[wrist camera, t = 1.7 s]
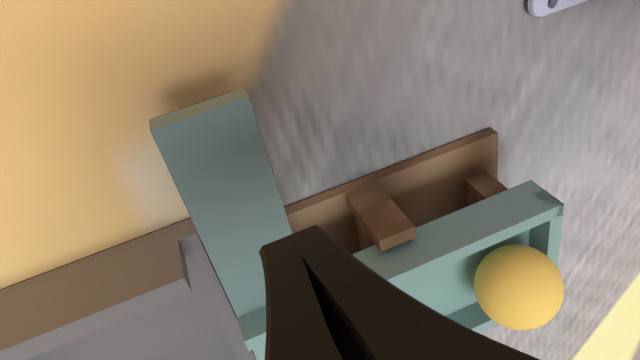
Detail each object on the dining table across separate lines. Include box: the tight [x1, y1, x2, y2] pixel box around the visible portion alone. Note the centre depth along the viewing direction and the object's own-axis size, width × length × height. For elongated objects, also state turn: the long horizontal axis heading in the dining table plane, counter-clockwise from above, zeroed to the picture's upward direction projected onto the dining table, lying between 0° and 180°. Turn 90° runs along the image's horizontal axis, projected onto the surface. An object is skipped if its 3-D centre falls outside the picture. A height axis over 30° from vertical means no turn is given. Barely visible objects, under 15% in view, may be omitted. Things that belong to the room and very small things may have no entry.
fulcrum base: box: [284, 128, 508, 254], centre depth 24 cm, size 15×8×4 cm, turn 102°
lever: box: [149, 88, 564, 360], centre depth 19 cm, size 14×14×2 cm
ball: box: [474, 244, 564, 330], centre depth 21 cm, size 4×4×4 cm
